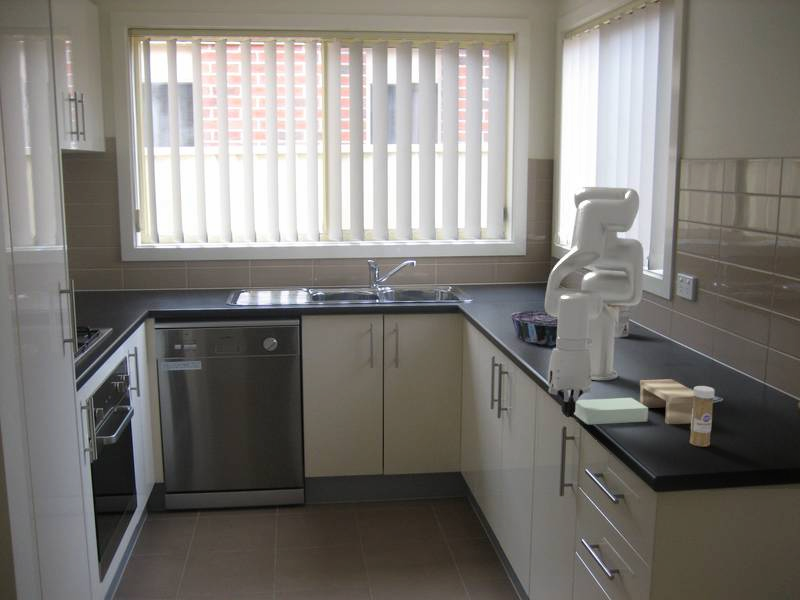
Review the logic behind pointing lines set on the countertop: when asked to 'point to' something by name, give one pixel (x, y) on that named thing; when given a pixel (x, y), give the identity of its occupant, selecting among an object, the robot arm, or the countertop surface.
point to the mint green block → (611, 411)
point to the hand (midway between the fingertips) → (568, 415)
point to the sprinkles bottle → (701, 416)
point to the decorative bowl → (536, 327)
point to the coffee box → (621, 319)
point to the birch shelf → (668, 399)
